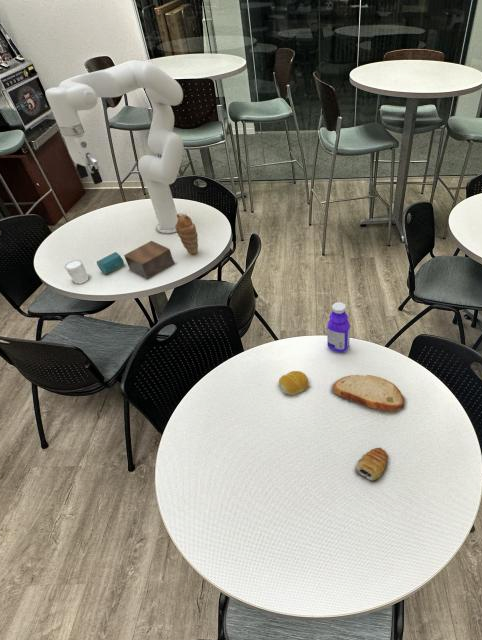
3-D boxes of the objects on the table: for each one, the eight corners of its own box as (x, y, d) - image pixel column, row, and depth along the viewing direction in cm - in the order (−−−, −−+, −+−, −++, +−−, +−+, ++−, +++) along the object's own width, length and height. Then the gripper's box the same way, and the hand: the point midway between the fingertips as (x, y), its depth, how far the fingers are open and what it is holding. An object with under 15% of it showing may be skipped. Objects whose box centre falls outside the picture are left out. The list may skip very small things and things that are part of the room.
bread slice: (328, 385, 131) (328, 376, 128) (380, 367, 135) (381, 359, 132) (354, 428, 119) (355, 420, 117) (409, 407, 124) (411, 399, 121)
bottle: (351, 345, 142) (353, 303, 129) (345, 355, 139) (346, 314, 126) (332, 339, 145) (331, 297, 132) (325, 350, 141) (324, 308, 128)
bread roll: (313, 387, 130) (312, 378, 127) (288, 399, 127) (287, 390, 124) (299, 371, 135) (298, 362, 132) (274, 382, 132) (273, 374, 129)
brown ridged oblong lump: (180, 256, 183) (167, 217, 170) (190, 247, 188) (179, 208, 175) (197, 260, 181) (186, 220, 167) (207, 251, 186) (197, 211, 172)
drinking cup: (117, 262, 182) (112, 250, 177) (125, 266, 179) (120, 254, 175) (100, 271, 177) (94, 259, 173) (108, 276, 175) (102, 264, 170)
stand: (156, 255, 185) (151, 240, 180) (174, 263, 180) (169, 249, 174) (129, 270, 177) (123, 255, 172) (147, 279, 172) (141, 264, 167)
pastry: (371, 446, 115) (372, 438, 112) (393, 458, 112) (395, 450, 109) (353, 471, 110) (353, 464, 107) (375, 485, 107) (377, 477, 104)
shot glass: (84, 285, 171) (76, 270, 166) (69, 283, 172) (60, 268, 167) (93, 275, 175) (85, 260, 170) (78, 274, 177) (70, 259, 171)
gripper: (95, 131, 148) (113, 182, 160) (68, 123, 155) (88, 172, 168) (75, 137, 144) (95, 188, 156) (49, 128, 151) (70, 178, 164)
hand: (91, 180), depth 162 cm, fingers open, 9 cm apart
